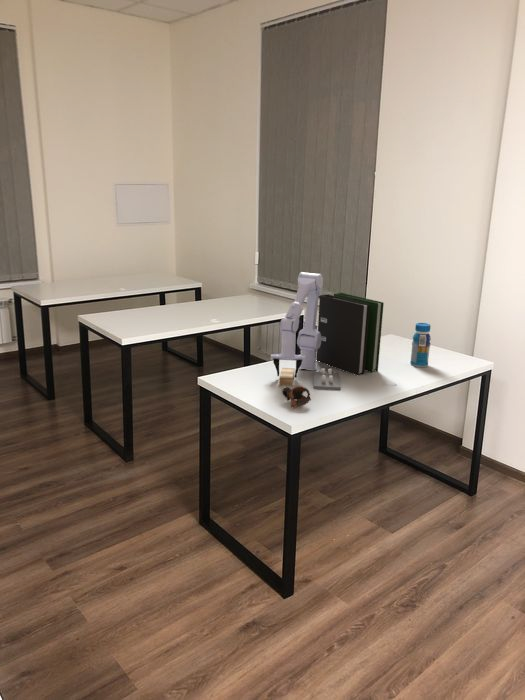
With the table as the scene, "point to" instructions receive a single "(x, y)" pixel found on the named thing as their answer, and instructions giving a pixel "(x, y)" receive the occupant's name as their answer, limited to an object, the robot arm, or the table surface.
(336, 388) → the peg stand
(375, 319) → the binder
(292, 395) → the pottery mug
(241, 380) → the table surface
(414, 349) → the beverage bottle
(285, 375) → the shelf board
